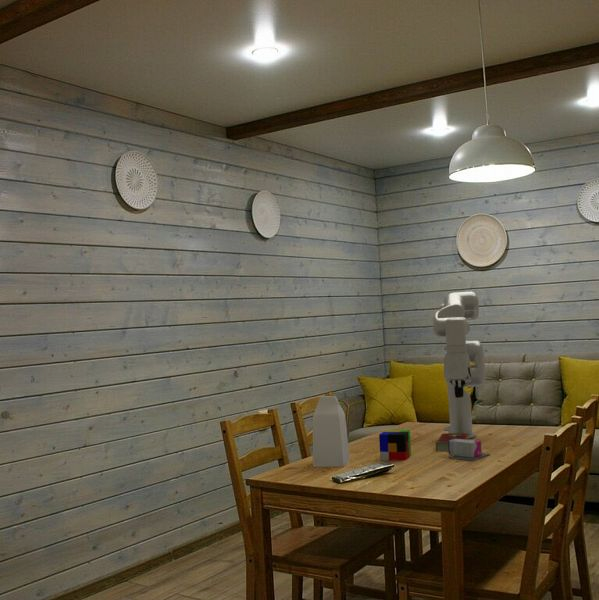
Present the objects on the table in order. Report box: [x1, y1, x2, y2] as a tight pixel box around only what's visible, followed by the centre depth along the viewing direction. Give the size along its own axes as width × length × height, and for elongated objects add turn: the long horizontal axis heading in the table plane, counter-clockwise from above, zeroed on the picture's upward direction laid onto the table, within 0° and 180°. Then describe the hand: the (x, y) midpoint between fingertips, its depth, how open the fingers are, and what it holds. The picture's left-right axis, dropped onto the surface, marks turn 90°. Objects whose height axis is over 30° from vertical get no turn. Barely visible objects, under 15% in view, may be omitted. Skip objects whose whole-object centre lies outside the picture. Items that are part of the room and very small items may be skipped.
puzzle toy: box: [378, 429, 412, 461], centre depth 291 cm, size 10×10×10 cm
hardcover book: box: [435, 432, 470, 452], centre depth 309 cm, size 12×21×4 cm, turn 163°
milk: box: [312, 395, 351, 468], centre depth 287 cm, size 12×12×26 cm
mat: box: [448, 452, 491, 462], centre depth 284 cm, size 10×13×1 cm
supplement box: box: [448, 438, 483, 458], centre depth 285 cm, size 6×6×12 cm
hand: (459, 397), depth 287 cm, fingers closed
